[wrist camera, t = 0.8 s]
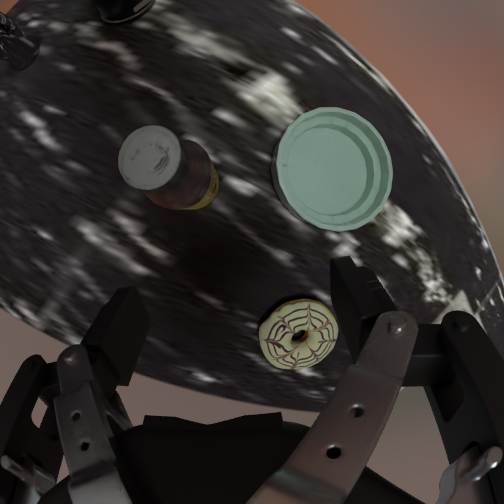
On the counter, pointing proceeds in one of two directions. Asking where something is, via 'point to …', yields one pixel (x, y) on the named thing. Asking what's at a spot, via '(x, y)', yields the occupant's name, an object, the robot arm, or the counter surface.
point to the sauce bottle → (168, 168)
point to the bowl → (332, 169)
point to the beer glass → (16, 44)
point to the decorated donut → (291, 321)
